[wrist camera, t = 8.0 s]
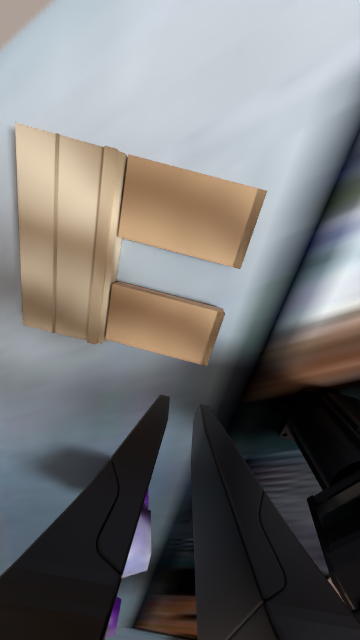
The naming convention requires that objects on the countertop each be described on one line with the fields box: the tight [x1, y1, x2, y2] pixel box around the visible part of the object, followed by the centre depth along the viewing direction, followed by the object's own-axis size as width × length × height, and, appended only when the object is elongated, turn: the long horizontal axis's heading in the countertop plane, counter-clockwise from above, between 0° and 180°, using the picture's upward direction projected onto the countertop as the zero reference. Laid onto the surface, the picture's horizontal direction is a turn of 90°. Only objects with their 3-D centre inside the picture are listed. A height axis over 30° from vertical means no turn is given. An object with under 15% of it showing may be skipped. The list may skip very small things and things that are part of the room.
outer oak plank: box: [118, 154, 267, 269], centre depth 14 cm, size 5×9×1 cm, turn 76°
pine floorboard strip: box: [15, 123, 128, 344], centre depth 15 cm, size 14×7×2 cm, turn 166°
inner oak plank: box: [106, 282, 225, 366], centre depth 17 cm, size 5×9×1 cm, turn 76°
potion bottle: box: [104, 490, 151, 640], centre depth 19 cm, size 9×9×12 cm
